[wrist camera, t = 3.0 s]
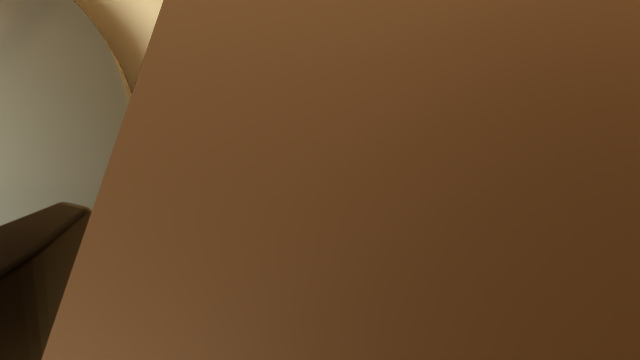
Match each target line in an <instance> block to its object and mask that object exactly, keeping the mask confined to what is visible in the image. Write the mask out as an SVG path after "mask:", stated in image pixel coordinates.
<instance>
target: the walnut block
mask: <svg viewBox="0 0 640 360" xmlns="http://www.w3.org/2000/svg"><path fill="white" fill-rule="evenodd" d="M41 360H640V0H164V1H163V4H162V6H161V9H160V12H159V15H158V18H157V21H156V24H155V27H154V30H153V33H152V36H151V39H150V42H149V45H148V48H147V51H146V53H145V56H144V59H143V62H142V65H141V68H140V71H139V74H138V77H137V80H136V83H135V86H134V89H133V92H132V95H131V98H130V101H129V103H128V106H127V109H126V112H125V115H124V118H123V121H122V124H121V127H120V130H119V133H118V136H117V139H116V142H115V145H114V148H113V151H112V153H111V156H110V159H109V162H108V165H107V168H106V171H105V174H104V177H103V180H102V183H101V186H100V189H99V192H98V195H97V198H96V200H95V203H94V206H93V209H92V212H91V215H90V218H89V221H88V224H87V227H86V230H85V233H84V236H83V239H82V242H81V245H80V248H79V250H78V253H77V256H76V259H75V262H74V265H73V268H72V271H71V274H70V277H69V280H68V283H67V286H66V289H65V292H64V295H63V298H62V300H61V303H60V306H59V309H58V312H57V315H56V318H55V321H54V324H53V327H52V330H51V333H50V336H49V339H48V342H47V345H46V347H45V350H44V353H43V356H42V359H41Z"/></svg>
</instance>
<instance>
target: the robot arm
mask: <svg viewBox="0 0 640 360" xmlns="http://www.w3.org/2000/svg"><path fill="white" fill-rule="evenodd" d="M91 212H92V210H91V209H90V208H89V207H86V206H82V205H78V204H73V203H69V202H60V203H56V204H54V205H51V206H49V207H46V208H44V209H41V210H39V211H36V212H34V213H31V214H28V215H26V216H23V217H21V218H18V219H16V220H13V221H11V222H8V223H6V224H3V225H1V226H0V360H41V359H42V356H43V353H44V350H45V347H46V345H47V342H48V339H49V336H50V333H51V330H52V327H53V324H54V321H55V318H56V315H57V312H58V309H59V306H60V303H61V300H62V298H63V295H64V292H65V289H66V286H67V283H68V280H69V277H70V274H71V271H72V268H73V265H74V262H75V259H76V256H77V253H78V250H79V248H80V245H81V242H82V239H83V236H84V233H85V230H86V227H87V224H88V221H89V218H90V215H91Z"/></svg>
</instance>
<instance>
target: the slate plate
mask: <svg viewBox="0 0 640 360" xmlns="http://www.w3.org/2000/svg"><path fill="white" fill-rule="evenodd" d="M131 95H132V93H131V89H130V87H129V84H128V82H127V79H126V77H125V74H124V72H123V69H122V68H121V66H120V64H119V62H118V61H117V59H116V57H115V56H114V54H113V52H112V50H111V49H110V47H109V46H108V44H107V42H106V41H105V39H104V38H103V36H102V35H101V33H100V32H99V30H98V29H97V27H96V26H95V25H94V23H93V22H92V21H91V20H90V18H89V17H88V16H87V15H86V13H85V12H84V11H83V10H82V9H81V8H80V7H79V6H78V5H77V4H76V3H75V2H74V1H73V0H0V226H1V225H3V224H6V223H8V222H11V221H13V220H16V219H18V218H21V217H23V216H26V215H28V214H31V213H34V212H36V211H39V210H41V209H44V208H46V207H49V206H51V205H54V204H56V203H60V202H69V203H73V204H78V205H82V206H86V207H89V208H90V209H91V210H92V209H93V206H94V203H95V200H96V198H97V195H98V192H99V189H100V186H101V183H102V180H103V177H104V174H105V171H106V168H107V165H108V162H109V159H110V156H111V153H112V151H113V148H114V145H115V142H116V139H117V136H118V133H119V130H120V127H121V124H122V121H123V118H124V115H125V112H126V109H127V106H128V103H129V101H130V98H131Z"/></svg>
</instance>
